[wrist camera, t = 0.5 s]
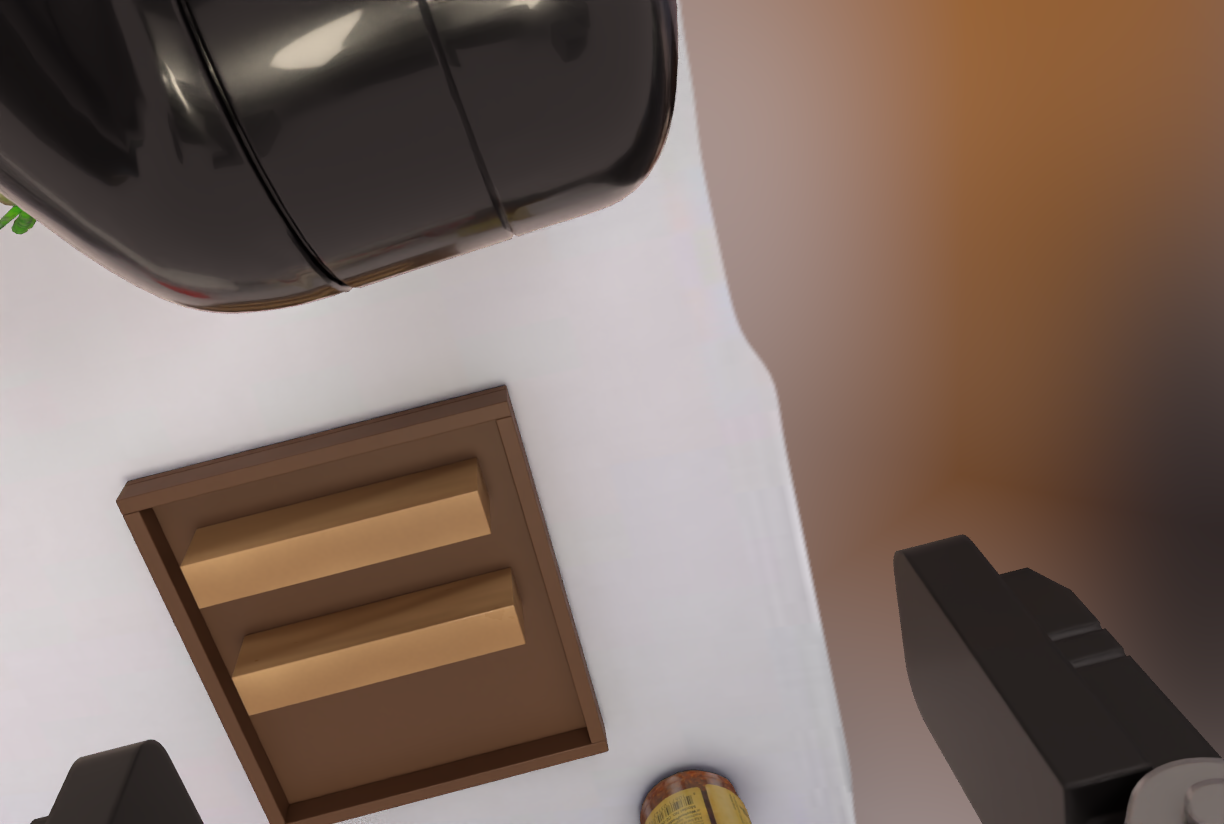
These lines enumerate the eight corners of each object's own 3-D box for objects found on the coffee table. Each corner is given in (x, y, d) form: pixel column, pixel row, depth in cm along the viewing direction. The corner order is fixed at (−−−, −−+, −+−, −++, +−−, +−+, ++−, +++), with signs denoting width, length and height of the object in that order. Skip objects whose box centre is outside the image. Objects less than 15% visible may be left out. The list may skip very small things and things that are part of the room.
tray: (127, 481, 53) (115, 500, 51) (505, 384, 53) (507, 400, 51) (281, 811, 62) (276, 838, 60) (604, 727, 62) (608, 751, 60)
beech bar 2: (244, 635, 56) (230, 678, 53) (510, 566, 57) (513, 604, 53) (260, 672, 57) (248, 716, 54) (522, 604, 58) (526, 644, 54)
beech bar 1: (196, 528, 54) (179, 566, 50) (476, 456, 54) (477, 490, 51) (214, 569, 55) (199, 609, 51) (489, 498, 55) (491, 534, 52)
